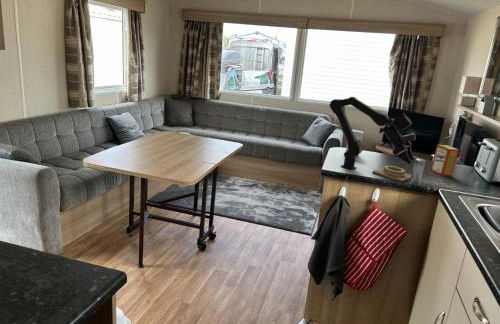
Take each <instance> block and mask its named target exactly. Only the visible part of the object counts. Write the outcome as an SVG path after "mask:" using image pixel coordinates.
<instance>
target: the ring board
mask: <svg viewBox="0 0 500 324" xmlns="http://www.w3.org/2000/svg"><path fill="white" fill-rule="evenodd" d="M371 173H372V174H374V175H377V176H380V177H383V178H385V179H386V178H387V179H389V180H393V181H396V182H398V183H404V182H406V181H410V180H411V176H412V173H411V174H410V173H407V172H406V169H403V168H401V167H398V166H394V165H385V166H383V167H381V168H378V169H375V170H372V171H371Z"/></svg>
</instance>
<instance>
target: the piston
mask: <svg viewBox="0 0 500 324" xmlns="http://www.w3.org/2000/svg"><path fill="white" fill-rule="evenodd" d="M426 162H427V160H426V159H424V158H423V159H422V158H415V159H414V165H413V168H412V172H411V175H412V176H411V179H409V185H411V186H414V187H420V183H421V181H422V177H423V174H424V173H423V172H424V169H425V166H426Z"/></svg>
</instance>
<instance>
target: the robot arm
mask: <svg viewBox="0 0 500 324" xmlns="http://www.w3.org/2000/svg"><path fill="white" fill-rule="evenodd" d="M346 106H352V107H354V108H355V109H357V110H358V111H360V112H361V113H363V114H365V115H366V116H367V117H369V118H370V119H371V120H372V121H373V122H374V123H375V124H376V125H377V126H379V127H380V128H379V132H378V134H381V133H384V134H385V137H386V138H387V139H388V142H389V143H391V144H392V146H393V149H392V154H393V156H395V157H397V158H399V159H401V160H402V161H404V162H406V163H407V164H409V165H411V164H412V161H415V158H414V155H413V153H412V150H411V148H412V142H414V141H416V140H417V138H416V134H415V133H414V132H412V131H409V132H407V134H405V135H403V134H402V133H400V132H399V131H404V130H405V129H407V128H409V127H410V126H412V125H413V123H412V121H411V119H410V118H409V117H408V116H407V115H406V114H405V113H404V112H403V113H401V114H400V115H399V116H398V117H396V118H392V117H389V115H388V114H386V113H385V112H382V111H379V110H376V109H373V108H372V107H370V106H369V105H367V104H366V103H364V102H363V101H361V100H359V99H358V98H356V97H355V96H349V97H348V98H344V99H341V98H336V99H332V100H331V101H330V103H329V109H330V110H331V111H332V113H333V114H334V115H335V116H336V117H337V119H338V122H339V123H340V124H339V125H340V127H341V129H342V131H343V133H344V136H345V138H346V140H347V141H346V142H348V151H347V152H344V153H343V157H344V161H343V164H341V165H340V167H342V168H344V169H347V170H350V171H351V170H356V169H357V168H358V167H356V166H355V164H356V158H357V157H356V156H357V155H359V156H360V154H362V152H363V150H364V148H363V147H364V145H363V144H362V143H361V140H357V139H356V138H355V136H354V133H353V131H352V127H351V126H352V125H351V124H350V121H349V120H348V117H347V115H346V108H345V107H346Z"/></svg>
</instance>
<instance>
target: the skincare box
mask: <svg viewBox="0 0 500 324" xmlns="http://www.w3.org/2000/svg"><path fill="white" fill-rule="evenodd" d="M351 129H352V128H351ZM352 131H353V133H354V136H355V138H356V139H357V140H361V143H362V142H363V138H364V134H365V133H364V131H362V130H357V129H352ZM346 142H347V141H346ZM347 151H348V142H347V143H346V148H345V152H347ZM345 152H344V153H345ZM359 156H360V154H359V155H357V156H356V158H359Z"/></svg>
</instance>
